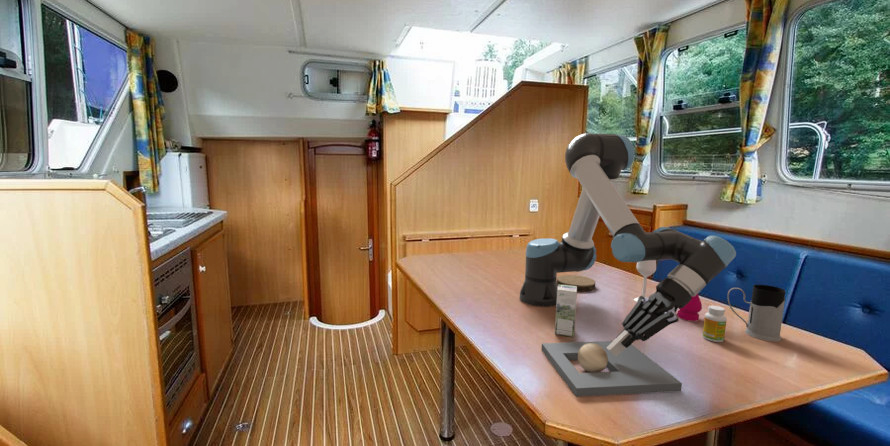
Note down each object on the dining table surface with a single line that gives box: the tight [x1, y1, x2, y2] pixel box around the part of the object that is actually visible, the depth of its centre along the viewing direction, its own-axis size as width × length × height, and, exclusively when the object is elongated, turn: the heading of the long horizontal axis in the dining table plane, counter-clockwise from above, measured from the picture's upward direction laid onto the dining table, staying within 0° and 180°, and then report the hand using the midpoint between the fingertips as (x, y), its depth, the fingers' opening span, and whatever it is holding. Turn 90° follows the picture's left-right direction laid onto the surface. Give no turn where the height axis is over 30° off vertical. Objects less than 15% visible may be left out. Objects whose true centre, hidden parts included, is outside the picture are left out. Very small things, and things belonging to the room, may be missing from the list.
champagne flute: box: [633, 260, 657, 303], centre depth 147 cm, size 7×7×24 cm
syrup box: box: [554, 285, 578, 338], centre depth 118 cm, size 6×6×14 cm
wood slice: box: [556, 274, 596, 293], centre depth 166 cm, size 16×16×3 cm
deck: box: [541, 340, 683, 397], centre depth 97 cm, size 25×22×2 cm
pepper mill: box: [676, 293, 703, 322], centre depth 130 cm, size 7×7×20 cm
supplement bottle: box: [702, 305, 727, 343], centre depth 115 cm, size 5×5×10 cm
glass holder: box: [726, 284, 786, 343], centre depth 119 cm, size 9×14×15 cm, turn 58°
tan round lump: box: [577, 343, 608, 373], centre depth 96 cm, size 7×7×7 cm
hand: (611, 352), depth 97 cm, fingers closed
